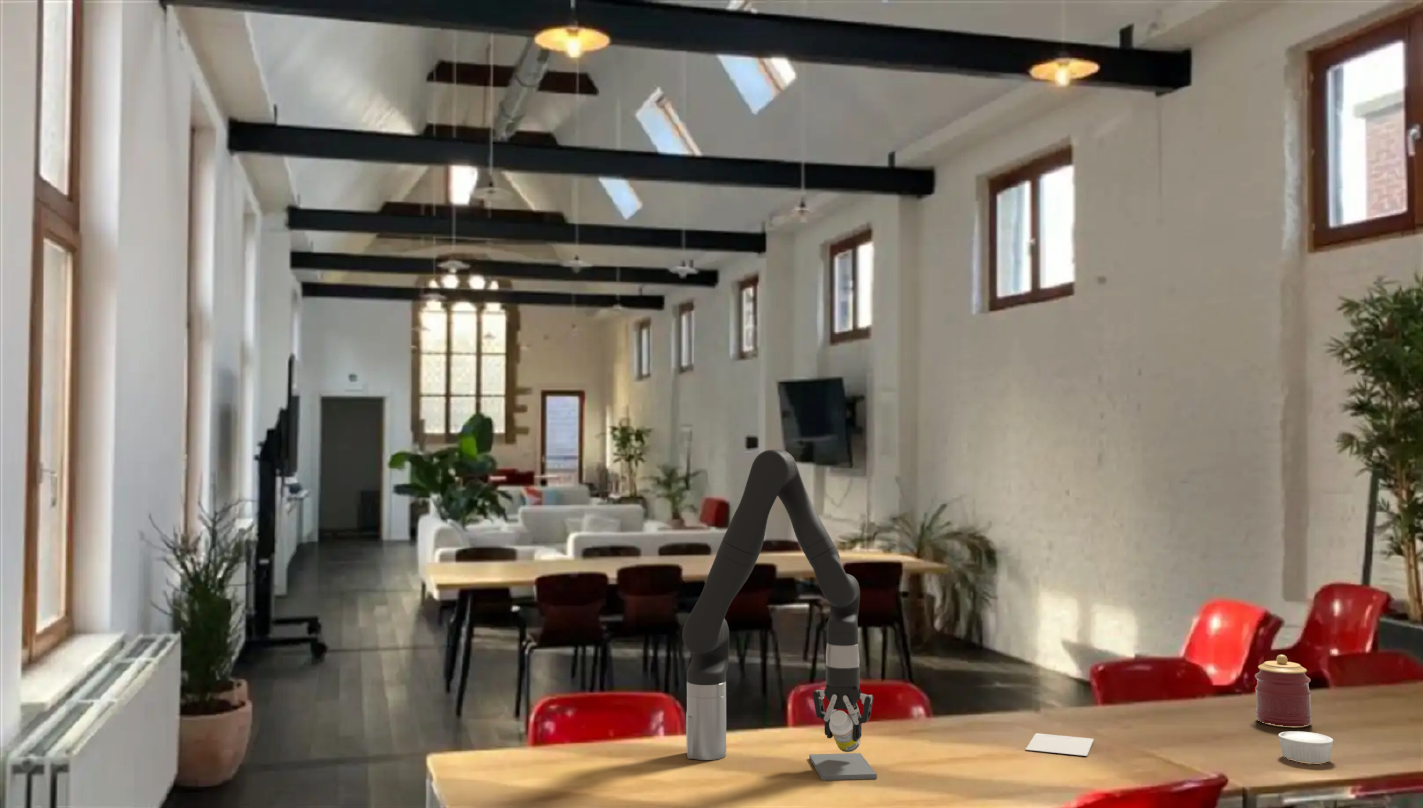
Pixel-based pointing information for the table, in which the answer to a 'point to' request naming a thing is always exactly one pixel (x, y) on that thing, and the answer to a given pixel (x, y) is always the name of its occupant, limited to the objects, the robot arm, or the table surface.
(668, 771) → the table surface
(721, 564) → the robot arm
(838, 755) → the mat
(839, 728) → the supplement bottle
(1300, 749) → the ramekin
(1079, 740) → the paper stack
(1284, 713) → the canister
